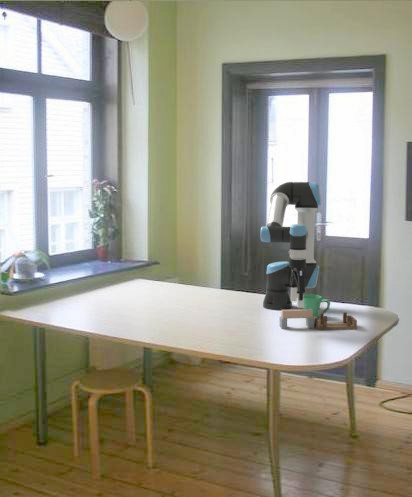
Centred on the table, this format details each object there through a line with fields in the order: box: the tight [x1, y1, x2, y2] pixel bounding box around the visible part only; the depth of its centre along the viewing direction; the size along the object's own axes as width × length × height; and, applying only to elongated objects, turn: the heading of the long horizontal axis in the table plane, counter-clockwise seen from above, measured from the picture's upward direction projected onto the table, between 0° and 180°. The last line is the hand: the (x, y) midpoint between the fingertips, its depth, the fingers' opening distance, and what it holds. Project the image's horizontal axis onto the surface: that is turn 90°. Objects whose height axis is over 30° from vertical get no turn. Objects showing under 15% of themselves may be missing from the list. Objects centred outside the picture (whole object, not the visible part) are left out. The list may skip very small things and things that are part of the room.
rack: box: [314, 311, 358, 331], centre depth 332 cm, size 9×18×6 cm, turn 96°
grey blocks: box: [279, 316, 315, 330], centre depth 332 cm, size 5×15×4 cm, turn 96°
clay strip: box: [280, 308, 313, 320], centre depth 331 cm, size 3×14×4 cm, turn 96°
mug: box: [302, 294, 331, 318], centre depth 351 cm, size 15×10×10 cm
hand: (296, 304), depth 330 cm, fingers open, 13 cm apart
